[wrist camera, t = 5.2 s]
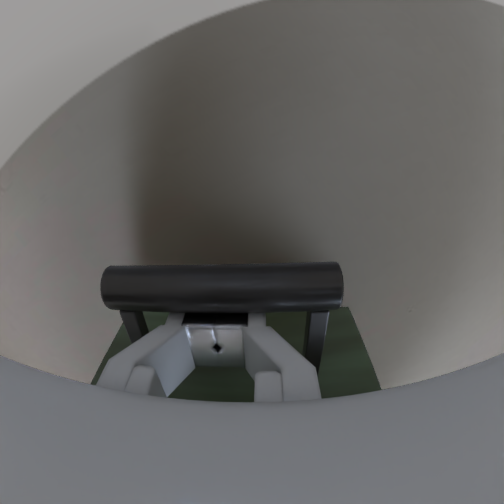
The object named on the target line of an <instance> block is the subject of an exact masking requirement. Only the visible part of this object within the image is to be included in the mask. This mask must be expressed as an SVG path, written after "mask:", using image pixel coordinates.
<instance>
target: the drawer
mask: <svg viewBox="0 0 504 504" xmlns="http://www.w3.org/2000/svg"><path fill="white" fill-rule="evenodd" d="M343 292H344V283H343V275H342V271H341V268H340V265H339V264H338V263H337V262H307V263H269V264H220V265H147V266H109V267H108V268H106V269H105V271H104V273H103V275H102V278H101V296H102V300H103V302H104V304H105V305H106V306H107V307H108V308H109V309H112V310H120V315H121V317H122V320H123V324H122V326H121V327H120V329H119V331H118V333H117V335H116V336H115V338H114V340H113V342H112V344H111V346H110V347H109V349H108V351H107V353H106V355H105V357H104V359H103V361H102V363H101V365H100V366H99V368H98V370H97V372H96V374H95V376H94V378H93V380H92V382H91V385H96V384H97V382H98V380H99V378H100V376H101V374H102V372H103V370H104V368H105V366H106V364H107V362H108V360H109V359H110V358H112V357H113V356H115V355H116V354H118V353H119V352H121V351H122V350H124V349H125V348H127V347H128V346H130V345H131V344H133V343H134V342H136V341H137V340H139V339H140V338H142V337H143V336H145V335H146V334H148V333H149V332H151V331H152V330H154V329H155V328H157V327H158V326H160V325H165V323H166V320H167V318H168V315H169V313H170V312H171V313H265V314H266V326H270V327H272V328H273V329H274V330H275V331H276V332H277V333H278V334H279V335H280V336H281V337H282V338H283V339H285V340H286V341H287V342H288V343H289V344H290V345H291V346H292V347H293V348H294V349H296V350H297V351H298V352H299V353H300V354H301V355H302V356H303V357H304V358H306V359H307V360H308V361H309V362H310V363H311V364H312V365H313V366H315V367H316V372H317V377H318V382H319V387H320V393H321V398H322V399H324V398H333V397H341V396H348V395H355V394H362V393H368V392H373V391H379V390H381V387H380V384H379V381H378V379H377V376H376V373H375V371H374V368H373V365H372V363H371V360H370V358H369V355H368V353H367V350H366V348H365V345H364V343H363V340H362V338H361V335H360V333H359V330H358V328H357V326H356V323H355V321H354V318H353V316H352V314H351V311H350V309H349V307H340V306H341V304H342V300H343ZM254 391H255V381H254V380H253V379H252V377H251V376H250V374H249V373H248V371H247V370H246V368H239V367H200V366H195V369H194V370H193V371H192V372H191V373H190V374H189V375H188V376H187V377H186V378H185V379H184V380H183V381H182V382H181V384H180V385H179V386H178V387H177V388H176V389H175V390H174V391H173V392H172V393H171V394H170V395H169V396H168V397H167V398H175V399H185V400H198V401H214V402H254Z"/></svg>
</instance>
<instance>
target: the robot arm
mask: <svg viewBox="0 0 504 504" xmlns="http://www.w3.org/2000/svg"><path fill="white" fill-rule="evenodd" d="M195 366H200V367H239V368H246V370H247V371H248V373H249V374H250V376H251V377H252V379H253V380H254V381H255V391H254V402H214V401H198V400H185V399H175V398H167V397H168V396H169V395H170V394H171V393H172V392H173V391H174V390H175V389H176V388H177V387H178V386H179V385H180V384H181V382H182V381H183V380H184V379H185V378H186V377H187V376H188V375H189V374H190V373H191V372H192V371H193V370H194V369H195ZM0 504H504V353H503V354H500V355H498V356H495V357H493V358H490V359H488V360H485V361H483V362H480V363H478V364H475V365H472V366H469V367H466V368H463V369H460V370H457V371H454V372H451V373H448V374H445V375H441V376H438V377H434V378H431V379H427V380H423V381H420V382H416V383H412V384H407V385H403V386H398V387H394V388H389V389H384V390H379V391H373V392H368V393H362V394H355V395H348V396H341V397H333V398H324V399H322V398H321V393H320V387H319V382H318V377H317V372H316V367H315V366H313V365H312V364H311V363H310V362H309V361H308V360H307V359H306V358H304V357H303V356H302V355H301V354H300V353H299V352H298V351H297V350H296V349H294V348H293V347H292V346H291V345H290V344H289V343H288V342H287V341H286V340H285V339H283V338H282V337H281V336H280V335H279V334H278V333H277V332H276V331H275V330H274V329H273V328H272V327H270V326H266V314H265V313H171V312H170V313H169V315H168V318H167V320H166V323H165V325H160V326H158V327H157V328H155V329H154V330H152V331H151V332H149V333H148V334H146V335H145V336H143V337H142V338H140V339H139V340H137V341H136V342H134V343H133V344H131V345H130V346H128V347H127V348H125V349H124V350H122V351H121V352H119V353H118V354H116V355H115V356H113V357H112V358H110V359H109V360H108V362H107V364H106V366H105V368H104V370H103V372H102V374H101V376H100V378H99V380H98V382H97V384H96V385H91V384H87V383H83V382H79V381H75V380H71V379H68V378H64V377H61V376H57V375H54V374H51V373H48V372H44V371H41V370H38V369H35V368H32V367H30V366H27V365H24V364H21V363H19V362H16V361H13V360H11V359H8V358H6V357H4V356H1V355H0Z"/></svg>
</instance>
